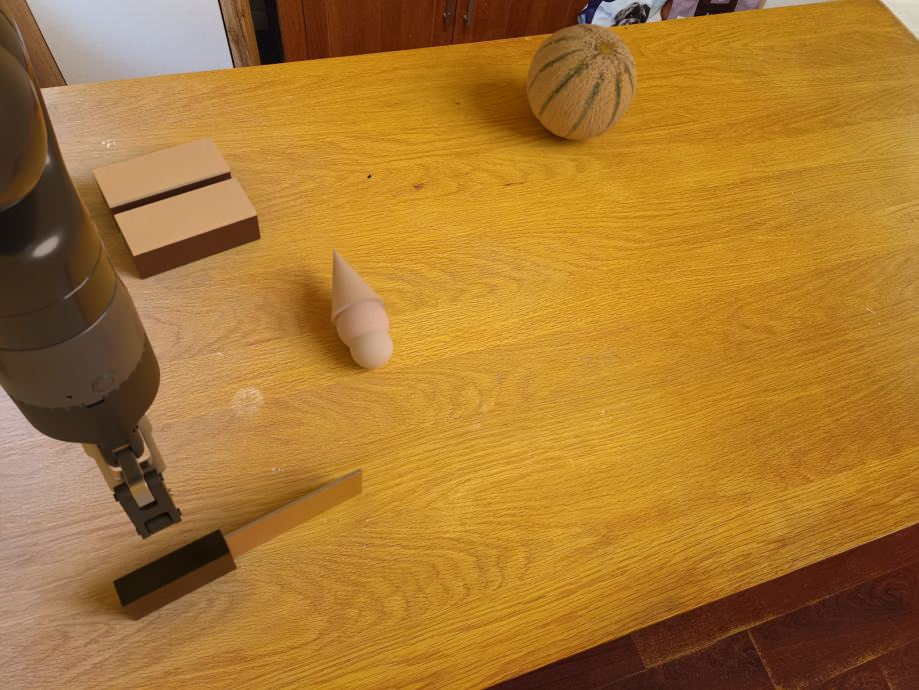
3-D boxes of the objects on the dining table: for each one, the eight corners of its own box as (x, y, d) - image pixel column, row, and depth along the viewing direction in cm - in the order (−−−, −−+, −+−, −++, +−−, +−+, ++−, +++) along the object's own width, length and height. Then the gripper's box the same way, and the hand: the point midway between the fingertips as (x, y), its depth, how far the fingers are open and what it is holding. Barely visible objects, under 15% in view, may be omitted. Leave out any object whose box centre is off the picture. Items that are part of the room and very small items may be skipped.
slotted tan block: (142, 279, 82) (132, 253, 79) (102, 198, 88) (91, 169, 85) (261, 238, 88) (256, 212, 84) (215, 164, 94) (210, 136, 90)
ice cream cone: (338, 225, 79) (386, 347, 74) (369, 241, 84) (416, 356, 79) (295, 255, 81) (339, 376, 76) (328, 269, 86) (371, 382, 81)
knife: (136, 621, 63) (120, 605, 59) (126, 596, 64) (110, 579, 60) (366, 501, 71) (367, 480, 67) (355, 481, 72) (355, 459, 68)
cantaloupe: (533, 82, 111) (556, -14, 98) (627, 112, 109) (662, 18, 97) (504, 141, 102) (524, 45, 90) (605, 174, 101) (640, 81, 89)
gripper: (-42, 275, 41) (56, 416, 54) (32, 484, 35) (122, 584, 48) (97, 231, 44) (157, 374, 57) (188, 417, 38) (232, 529, 51)
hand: (141, 470), depth 53 cm, fingers open, 8 cm apart
